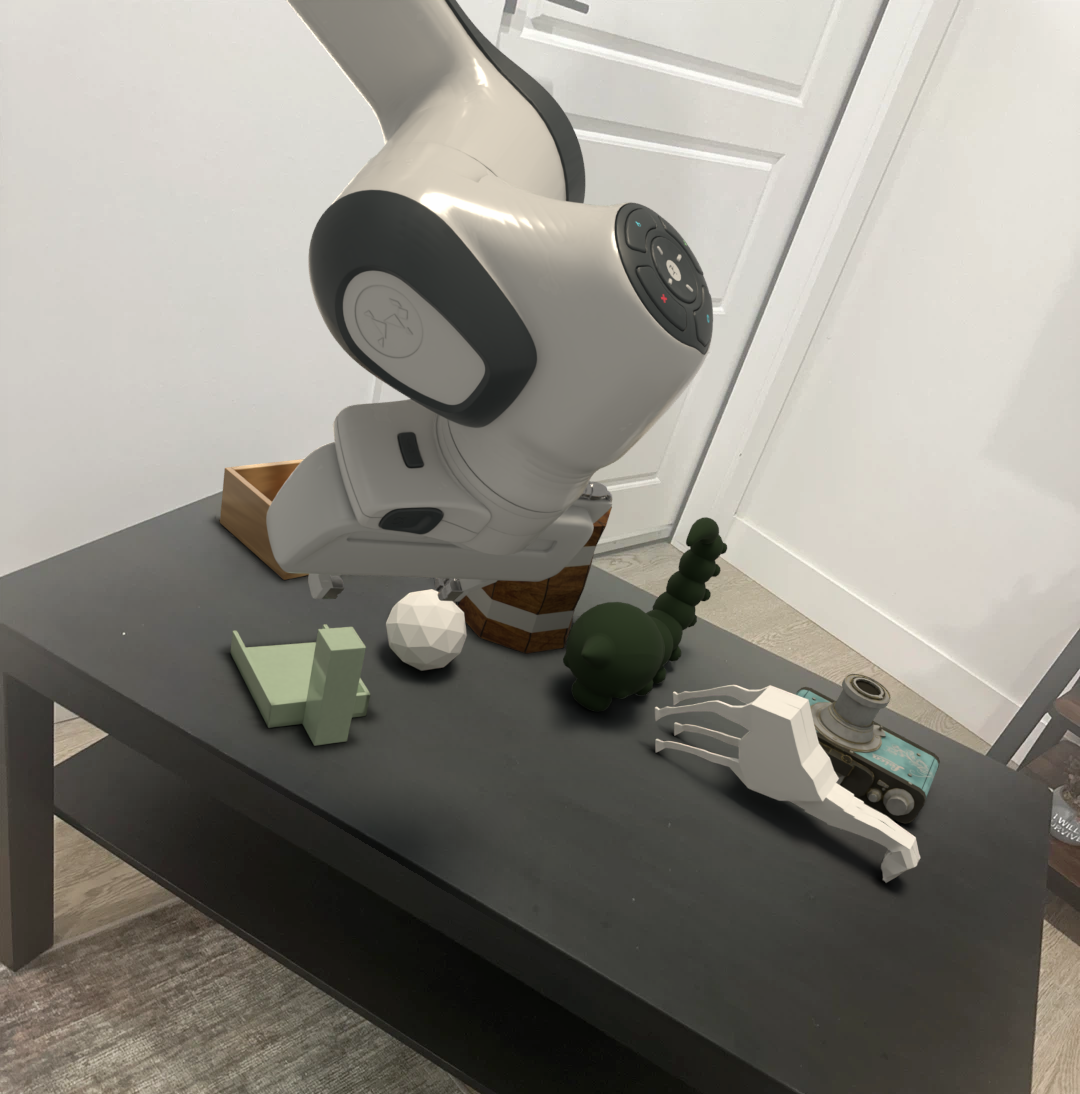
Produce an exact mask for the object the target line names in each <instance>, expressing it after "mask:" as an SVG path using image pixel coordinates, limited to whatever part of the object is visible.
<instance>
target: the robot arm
mask: <svg viewBox="0 0 1080 1094" xmlns="http://www.w3.org/2000/svg"><path fill="white" fill-rule="evenodd" d="M285 1H286V2H287V4H288V5H289V6H290V8H291V9H292V10H293V12H294V13H295V15H296V16H297V17H298V18H299V19H300V21H302V23H303V24H304V25H305V27H306V28H307V29H308V30H309V32H310V33H311V34H312V36H313V37H314V38H315V39H316V40H317V42H318V43H319V44H320V46H321V47H322V48H323V49H324V50H325V52H326V53H327V54H328V55H329V57H330V58H331V59H332V61H333V62H334V63H335V64H336V66H337V67H338V68H339V70H341V72H342V73H343V75H344V76H345V77H346V78H347V79H348V81H349V82H350V83H351V84H352V85H353V87H354V88H355V90H356V91H357V92H358V93H359V95H360V96H361V97H362V98H363V99H364V101H365V102H366V103H367V105H368V106H369V107H370V109H371V110H372V112H373V114H374V116H375V118H376V119H377V121H378V124H379V126H380V129H381V134H382V137H383V143H384V145H383V146H382V147H381V149H380V150H379V151H378V152H377V154H375V155H374V156H373V157H371V158H369V160H368V161H366V163H364V165H363V166H362V167H361V168H360V169H359V170H358V172H357V173H356V174H355V176H353V177H352V179H351V180H350V181H349V182H348V184H346V185H345V186H344V188H343V189H342V191H341V192H340V193H339V194H338V196H337V197H336V198H335V199H334V201H333V202H332V203H331V205H329V206H328V207H327V208H326V209H325V210H324V211H323V213H322V215H321V216H320V217H319V219H318V221H317V222H316V225H315V226H314V230H313V232H312V233H311V238H310V241H309V248H308V260H307V261H308V262H307V263H308V276H309V282H310V287H311V291H312V294H313V298H314V301H315V304H316V307H317V309H318V312H319V314H320V316H321V318H322V320H323V322H324V324H325V326H326V327H327V329H328V331H329V333H330V334H331V336H332V337H333V339H334V340H335V341H336V342H337V344H338V345H339V346H340V348H341V349H342V350H343V351H344V352H345V353H346V354H347V355H348V356H349V357H350V359H352V360H353V361H354V362H356V363H357V364H358V365H359V366H360V367H361V368H362V369H364V370H365V371H367V372H368V373H369V374H371V375H372V376H374V377H375V378H377V379H378V380H380V381H381V382H383V383H384V384H386V385H388V386H389V387H391V388H392V389H394V390H395V391H396V392H398V393H400V394H403V396H405V397H407V398H408V399H402V400H394V401H383V402H369V403H358V404H357V403H356V404H351V405H348V406H346V407H344V408H342V409H341V410H340V411H339V412H338V413H337V415H336V416H335V418H334V420H333V422H332V433H333V439H334V441H331V442H328V443H326V444H323V445H321V446H319V447H317V448H315V449H313V450H312V451H311V452H310V453H309V454H308V455H306V456H305V457H304V458H303V459H304V460H303V461H302V462H301V463H300V464H299V465H298V466H297V468H296V469H295V470H294V471H293V473H292V474H291V475H290V476H289V478H288V479H287V481H286V482H285V483H284V485H283V486H282V488H281V489H280V490H279V492H278V493H277V495H276V497H275V498H274V500H273V501H272V503H271V505H270V507H269V509H268V512H267V517H266V522H267V530H268V536H269V541H270V545H271V548H272V552H273V555H274V558H275V560H276V561H277V563H278V564H279V566H280V567H281V568H282V569H283V570H284V571H285V572H288V573H305V574H309V575H307V576H308V577H307V583H308V587H309V591H310V596H311V598H312V599H313V600H336V599H337V598H338V595H341V593H342V592H343V591H344V590H345V584H344V581H343V578H342V577H341V576H365V577H391V578H392V577H394V578H395V577H396V578H422V579H435V580H434V588H435V591H437V592H438V598H439V600H440V601H453V602H460V600H461V599H463V598H464V597H465V596H466V595H467V594H468V593H469V592H472V591H474V590H477V589H479V588H482V587H485V586H487V585H490V584H492V583H495V582H496V581H498V580H505V581H532V582H538V581H542V580H545V579H548V578H550V577H552V576H555V575H556V574H558V573H559V572H560V571H561V570H562V569H563V568H564V567H565V566H566V565H567V564H568V563H569V562H570V561H571V560H572V559H573V558H574V557H575V556H576V555H577V553H578V552H579V551H580V550H581V549H582V548H583V546H584V545H585V544H586V543H587V541H588V540H589V539H590V537H591V535H592V533H593V523H595V522H596V521H597V520H598V519H600V518H601V517H602V516H603V515H604V514H605V513H606V512H607V511H608V510H609V509H610V508H611V506H612V507H613V503H612V502H613V494H612V493H611V491H609V490H608V487H607V486H606V484H604V483H602V482H600V481H599V482H598V481H594V480H591V479H592V477H593V476H594V474H595V473H596V472H597V471H599V470H601V469H603V468H606V467H608V466H611V464H614V463H616V462H617V461H619V460H621V458H623V457H624V456H625V455H626V454H627V453H629V451H630V450H631V449H632V448H633V447H634V446H635V445H636V444H638V442H639V441H641V439H642V438H643V437H644V436H645V435H646V434H647V433H648V432H649V431H650V430H651V429H653V427H654V426H655V425H656V424H657V423H658V422H659V421H660V420H661V418H662V417H664V415H665V414H666V413H667V412H668V411H669V410H670V409H671V407H672V406H673V405H674V404H676V402H677V401H678V399H679V398H680V397H681V396H682V395H683V393H684V392H685V391H686V390H687V388H688V387H689V385H690V384H691V383H692V382H693V380H694V379H695V378H696V376H697V375H698V373H699V372H700V370H701V368H702V367H703V365H704V363H705V361H706V359H707V357H708V354H709V351H710V348H711V343H712V339H713V330H714V307H713V300H712V296H711V293H710V290H709V287H708V283H707V281H706V278H705V276H704V271H703V269H702V267H701V265H700V262H699V261H698V259H697V257H696V255H695V254H694V252H693V251H692V249H691V247H690V245H689V244H688V243H687V242H686V240H685V239H684V237H683V236H682V235H681V234H680V232H679V231H678V230H677V229H676V228H675V227H674V226H673V225H672V224H671V223H670V222H668V220H666V218H664V217H662V216H661V215H660V214H659V213H658V212H656V211H654V210H653V209H651V208H650V207H648V206H646V205H643V204H641V203H637V202H632V201H629V202H627V201H626V202H621V203H615V204H605V205H604V204H603V205H602V204H589V203H585V197H586V169H585V167H586V166H585V161H584V156H583V151H582V148H581V144H580V141H579V138H578V136H577V133H576V131H575V129H574V126H573V125H572V122H571V121H570V119H569V117H568V116H567V114H566V113H565V111H564V109H563V108H562V107H561V105H560V104H559V103H558V101H557V100H556V99H555V98H554V97H553V95H552V94H551V93H550V92H549V91H548V90H547V89H546V88H545V87H544V86H543V85H542V84H540V82H538V80H536V79H535V78H534V77H533V76H532V75H530V74H529V73H528V72H527V71H525V69H523V67H521V66H519V65H518V64H517V63H515V62H514V61H513V60H512V59H510V57H508V56H507V55H506V54H504V52H503V51H501V50H500V49H499V48H498V47H496V46H495V44H493V43H492V42H491V41H490V40H489V39H488V38H487V37H486V36H485V34H484V33H482V32H481V30H480V29H478V27H477V26H476V25H475V23H474V21H472V20H471V19H470V17H469V16H468V15H467V14H466V12H465V11H464V10H463V8H462V7H461V5H460V3H458V1H457V0H285Z"/></svg>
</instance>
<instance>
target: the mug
mask: <svg viewBox="0 0 1080 1094" xmlns="http://www.w3.org/2000/svg"><path fill="white" fill-rule="evenodd" d="M612 508H613V505H612V506H611V508H610V509H609V510H608V511H607V512H606V513H605V514H604V515H603V516H602V517H601V518H600V519H598V520H597V521H596V522H595V523H593V533H592V535H591V537H590V539H589V540H588V541H587V543H586V544H585V545H584V546H583V548H582V549H581V550H580V551H579V552H578V553H577V555H576V556H575V557H574V558H573V559H572V560H571V561H570V562H569V563H568V564H567V565H566V566H565V567H564V568H563V569H562V570H561V571H560V572H559V573H558V574H556V575H555V576H552V577H550V578H548V579H545V580H542V581H538V582H532V581H505V580H498V581H496V582H495V583H492V584H490V585H487V586H485V587H482V588H479V589H477V590H474V591H472V592H469V593H468V594H467V595H466V596H465V597H464V598H463V599H461V600H460V601H458V604H457V606H458V607H459V608H460V609H461V610H462V611H463V612H464V617H465V624H467V626H468V627H470V629H472V631H473V632H474V634H476V635H477V636H478V638H480V639H482V640H485V641H489V642H491V643H495V644H497V645H500V646H502V647H506V648H509V649H512V650H515V651H518V652H521V653H523V654H532V653H538V652H539V653H540V652H544V651H552V650H559V649H564V648H565V646H566V644H567V640H568V636H569V633H570V630H571V628H572V625H573V624H572V623H573V619H574V614H575V610H576V608H577V606H578V603H579V601H580V599H581V596H582V594H583V592H584V590H585V587H586V584H587V580H588V577H589V574H590V572H591V571H590V570H591V569H592V568H591V567H592V563H593V560H594V555H595V551H596V548H597V546H598V543H599V542H600V539H601V538H602V535H603V533H604V531H605V529H606V527H607V524H608V521H609V518H610V515H611V512H612Z"/></svg>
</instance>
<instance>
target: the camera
mask: <svg viewBox="0 0 1080 1094" xmlns="http://www.w3.org/2000/svg"><path fill="white" fill-rule="evenodd" d="M841 687H842V690H841V692H840V693H839V695H838V697H837V699H836V700H835V699H833V698H831V697H829V696H827V695H826V694H823V693H822V692H820V691H817V690H816V689H814V688H812V687H809V686H803V687H800V688H799V689H798V690H797V691H796V692H795V693H794V694H795V695H798V696H800V697H803V698H806V699H808V700H809V704H810V708H811V713H812V718H813V722H814V726H815V730H816V734H817V738H818V742H819V744H820V746H821V747H822V748H823V750H824V751H825V752H826V754H827V755H828V756H829V758H830V760H831V763H832V766H833V769H834V771H835V773H836V775H837V776H838V778H839V779H838V781H837V782H836V783H837V784H839V785H840V786H842V787H843V788H845V789H846V790H848V791H850V792H851V793H853V794H854V797H856V798H858V799H860V800H862V801H863V802H864V803H863V804H865V805H867V806H869V807H871V808H873V809H874V810H876V811H878V812H880V813H882V814H884V815H886V816H887V817H889V818H890V819H891V820H893V821H896V822H898V823H901V824H910V823H911V822H913V821H914V820H915V819H916V818H917V816H918V815H919V813H920V812H921V810H922V809H923V807H924V806H925V804H926V801H927V798H928V795H929V792H930V790H931V787H932V784H933V781H934V779H935V777H936V775H937V772H938V770H939V767H940V763H941V761H940V757H939V756H938V755H937V754H936V753H935V752H933V751H931V750H929V749H927V748H925V747H923V746H921V745H920V744H917V743H916V742H914V741H912V740H910V739H908V738H906V737H905V736H903V735H901V734H899V733H897V732H896V731H894V730H891V729H890V728H888V727H886V726H884V725H882V724H880V723H878V722H877V721H874V720H875V719H876V716H877V715H878V713H880V711H881V709H882V710H883V709H884V708H887V706H888V705H889V704H890V702H891V700H892V696H891V695H892V694H891V693H890V692H889V691H890V690H888V689H887V688H886V686H884V685H883V684H882V683H880V682H879V681H877V680H876V679H874V678H872V677H870V676H867V675H865V674H860V673H848V674H847V675H846V676H845V677H844V678H843V680H842V683H841Z"/></svg>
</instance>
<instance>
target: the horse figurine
mask: <svg viewBox="0 0 1080 1094" xmlns="http://www.w3.org/2000/svg"><path fill="white" fill-rule="evenodd" d="M795 694H796V693H792V692H789V691H787V690H784V689H782V688H779V687H776V686H773V685H771V684H769V685H768V686H767V685H766V686H765V687H763V688H760V689H748V688H745V687H743V686H740V685H737V684H729V685H723V686H718V687H713V688H709V689H702V690H694V691H687V690H684V691H682V692H679V693H678V692H676V691H673V692H672V699H673V700H672V701H673V702H672V703H673V706H668V705H667V706H664V707H662V708H659V707H658V706H655V707H654V719H655V722H657V721H659V720H660V719H661V718H663V717H666V716H670V715H675V714H686V713H699V712H702V713H703V712H710V713H714V714H716V715H719V716H720V717H722V718H724V719H726V720H728V721H730V722H733V723H735V724H736V725H739V726H741V727H743V728H745V729H746V730H747V732H746V733H745V734H744V735H743V736H742V737H741V738H740V737H737V736H733V735H730V734H727V733H725V732H722V731H717V730H715V729H714V730H713V729H710V728H706V727H703V726H700V725H695V724H688V723H685V724H682V723H679V722H677V721H675V722H674V723H673V735H674V736H677V735H679V734H681V733H683V732H690V733H695V734H700V735H703V736H707V737H711V738H713V739H715V740H718V741H720V742H722V743H725V744H727V745H729V746H733V747H737V749H738V758H736V757H729V756H726V755H722V754H718V753H716V752H715V753H714V752H710V751H708V750H707V749H703V748H700V747H695V746H691V745H688V744H684V743H681V742H678V741H671V740H666V741H663V740H662V739H659V738H656V739H655V740H654V742H655V753H658V752H660V751H662V750H664V749H671V750H677V751H680V752H681V751H682V752H684V753H687V754H692V755H695V756H697V757H699V758H702V759H704V760H706V761H708V762H711V763H714V764H718V765H722V766H723V767H724V766H725V767H728V768H729V769H730V770H731V771H732V772H733V773H734V774H735V775H736V776H737V777H738V779H739V780H740V781H741V782H742V783H743V784H744V785H745V786H746V788H747V789H749V790H751V791H753V792H756V793H759V794H761V795H764V796H766V797H769V798H770V799H774V800H776V801H779V802H790V803H792V804H794V805H795V806H797V807H799V808H801V809H802V810H803V812H804V813H806V814H808V815H811V816H812V817H814V818H817V819H818V820H820V821H821V822H824V823H825V824H826V825H827V826H830V827H832V828H833V827H834V828H837V829H840V830H843V831H847V832H849V833H852V834H855V835H857V836H860V837H862V838H865V839H867V840H871V841H872V842H875V843H876V844H879V845H881V846H883V847H884V848H886V849H887V850H886V852H885V853H884V854H883V858H882V860H881V862H880V870H881V872H882V881H883V882H885V884H887V883H889V882H890V881H892V880H894V879H895V878H897V877H898V876H900V875H901V874H903V873H905V872H907V871H909V870H911V869H914V868H916V867H917V866H918V864H919V862H920V859H921V855H920V851H919V847H918V842H917V837H916V836H914V835H913V834H912V833H910V832H909V831H908V830H906V829H905V828H904V827H902V826H900V825H899V824H898V823H896V822H895V820H893V819H892V818H890V817H889V816H887V815H885V814H883V813H881V812H880V811H878V810H876V809H874V808H872V807H871V806H869V805H867V804H865V803H864V802H863V801H862V800H860V799H858V798H856V797H854V794H853V793H851V792H850V791H848V790H846V789H845V788H843V787H842V786H840V785H839V784H837V783H836V782H837V781H838V779H839V778H838V776H837V775H836V773H835V771H834V769H833V766H832V763H831V760H830V758H829V756H828V755H827V754H826V752H825V751H824V750H823V748H822V747H821V746H820V744H819V742H818V738H817V734H816V730H815V726H814V722H813V718H812V713H811V708H810V704H809V700H808V699H806V698H803V697H800V696H798V695H795ZM721 696H723V697H725V696H727V697H731V698H734V699H736V700H737V701H739V702H741V703H743V704H744V705H732V704H729V703H727V702H724V701H721V700H719V699H716V700H708V701H704V702H703V701H702V702H698V703H695V704H687V705H680V706H676V705H677V704H679V703H680V702H683V701H684V700H689V699H695V698H705V697H721ZM674 736H673V737H674Z"/></svg>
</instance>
